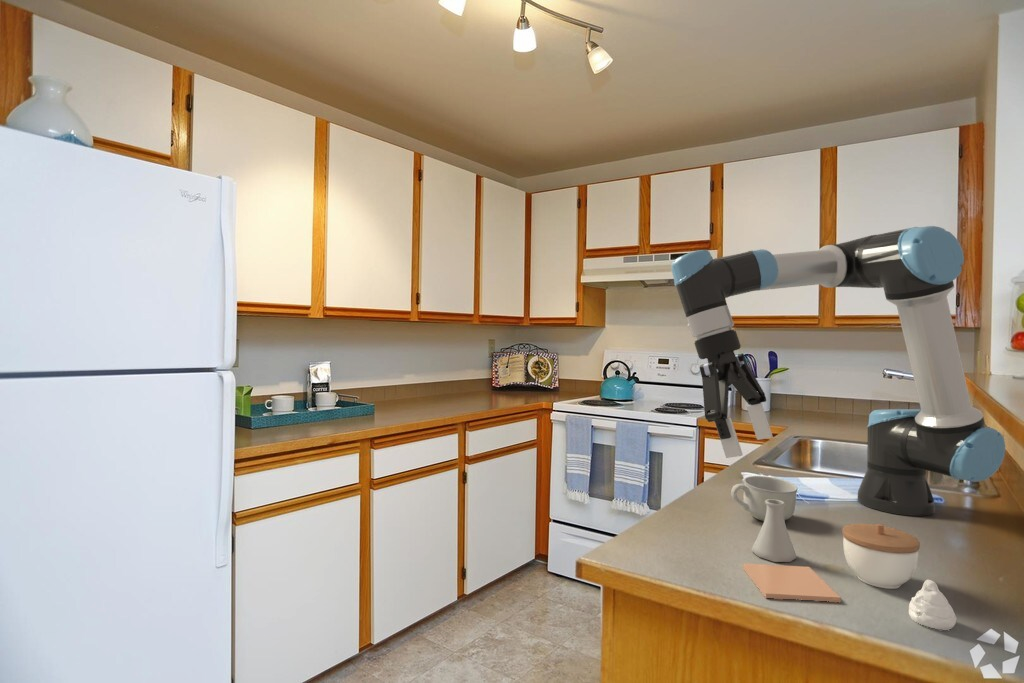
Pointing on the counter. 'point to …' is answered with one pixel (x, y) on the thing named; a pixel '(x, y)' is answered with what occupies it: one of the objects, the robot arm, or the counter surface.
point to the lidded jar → (880, 554)
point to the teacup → (765, 495)
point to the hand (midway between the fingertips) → (750, 447)
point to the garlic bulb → (932, 608)
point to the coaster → (790, 582)
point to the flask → (774, 535)
